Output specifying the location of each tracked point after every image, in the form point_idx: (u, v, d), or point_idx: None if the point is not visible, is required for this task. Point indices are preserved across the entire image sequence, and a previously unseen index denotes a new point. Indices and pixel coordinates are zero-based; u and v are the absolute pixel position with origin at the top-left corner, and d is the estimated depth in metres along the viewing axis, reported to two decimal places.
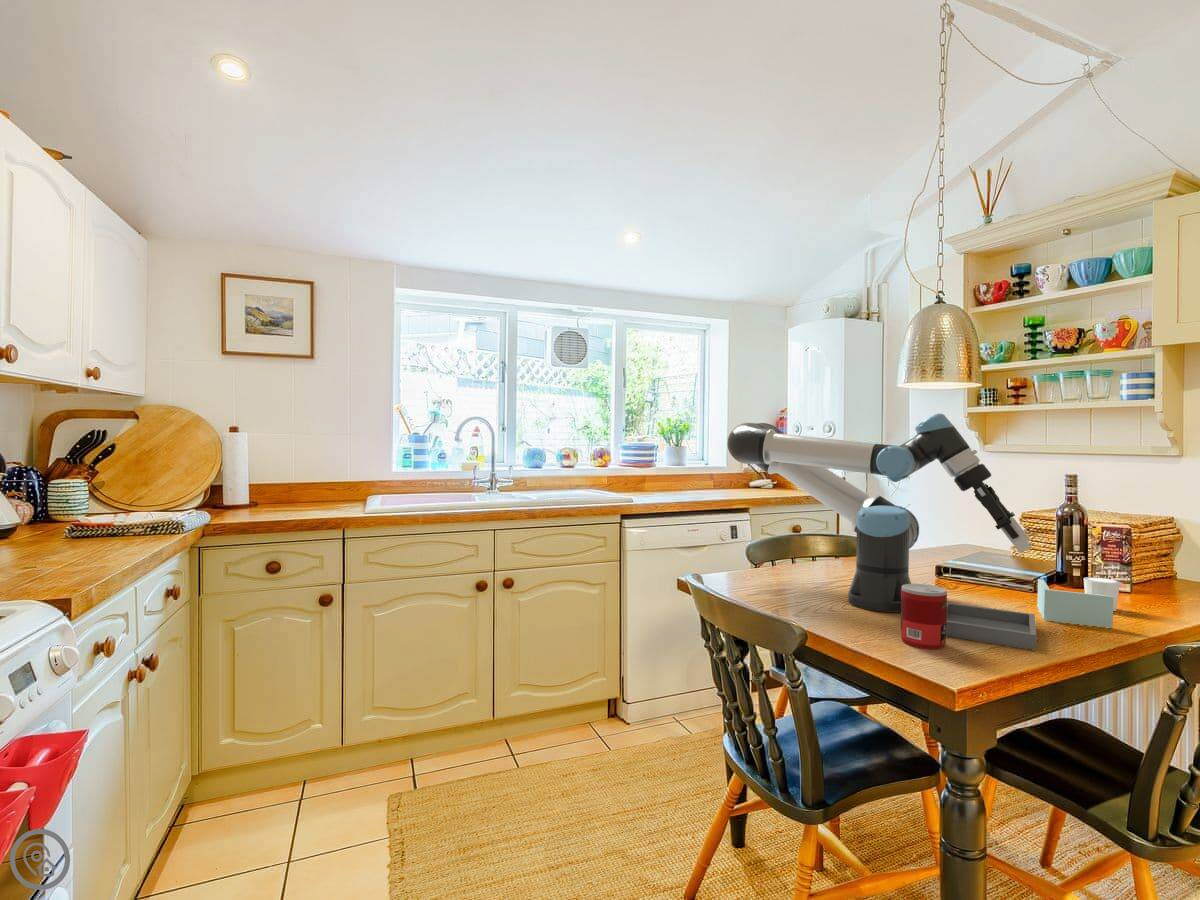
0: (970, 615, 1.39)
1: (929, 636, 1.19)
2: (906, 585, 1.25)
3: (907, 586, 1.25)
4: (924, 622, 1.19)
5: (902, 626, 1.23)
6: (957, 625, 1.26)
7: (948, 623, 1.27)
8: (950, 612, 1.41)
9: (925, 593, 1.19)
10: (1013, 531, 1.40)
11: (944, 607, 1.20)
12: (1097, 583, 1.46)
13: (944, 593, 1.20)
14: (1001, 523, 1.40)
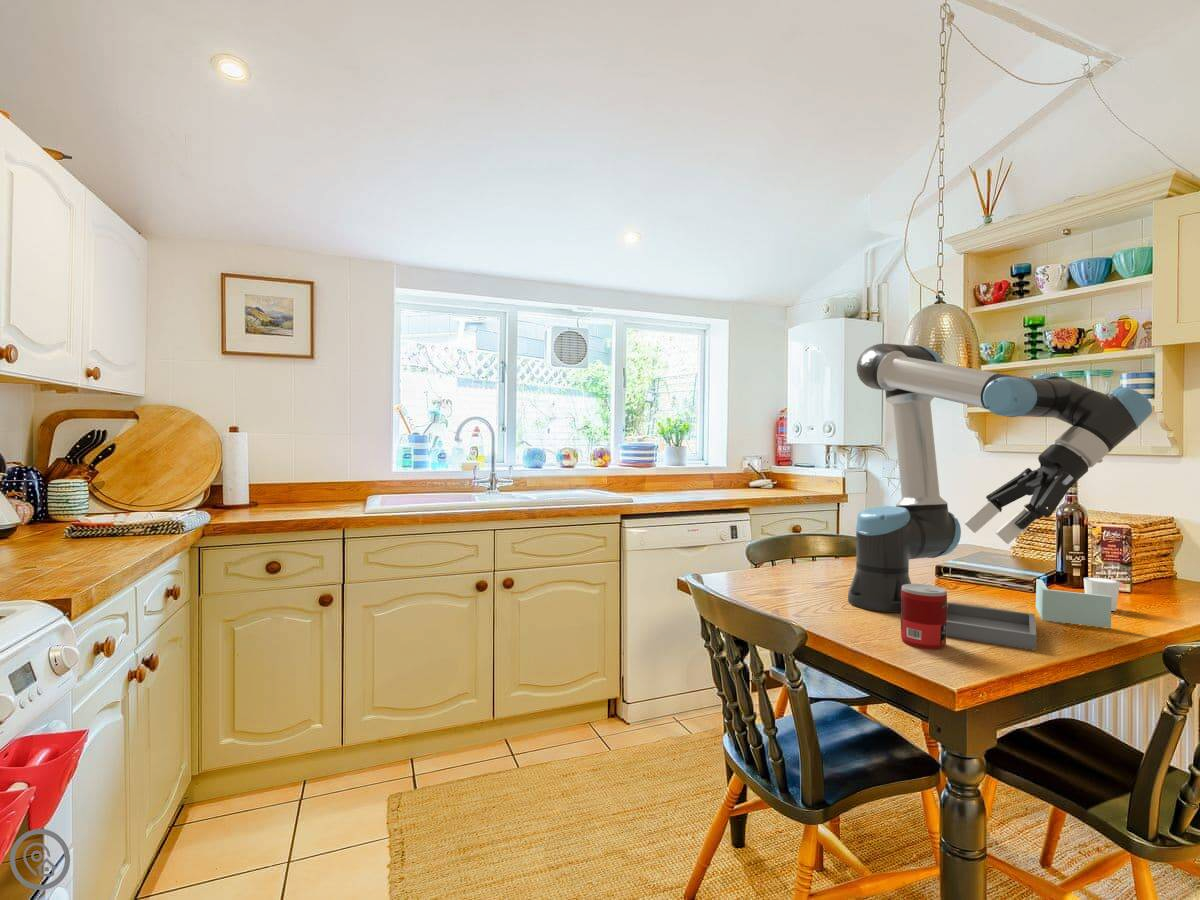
0: (970, 615, 1.39)
1: (929, 636, 1.19)
2: (906, 585, 1.25)
3: (907, 586, 1.25)
4: (924, 622, 1.19)
5: (902, 626, 1.23)
6: (957, 625, 1.26)
7: (948, 623, 1.27)
8: (950, 612, 1.41)
9: (925, 593, 1.19)
10: (1028, 523, 1.12)
11: (944, 607, 1.20)
12: (1097, 583, 1.46)
13: (944, 593, 1.20)
14: (1042, 510, 1.10)
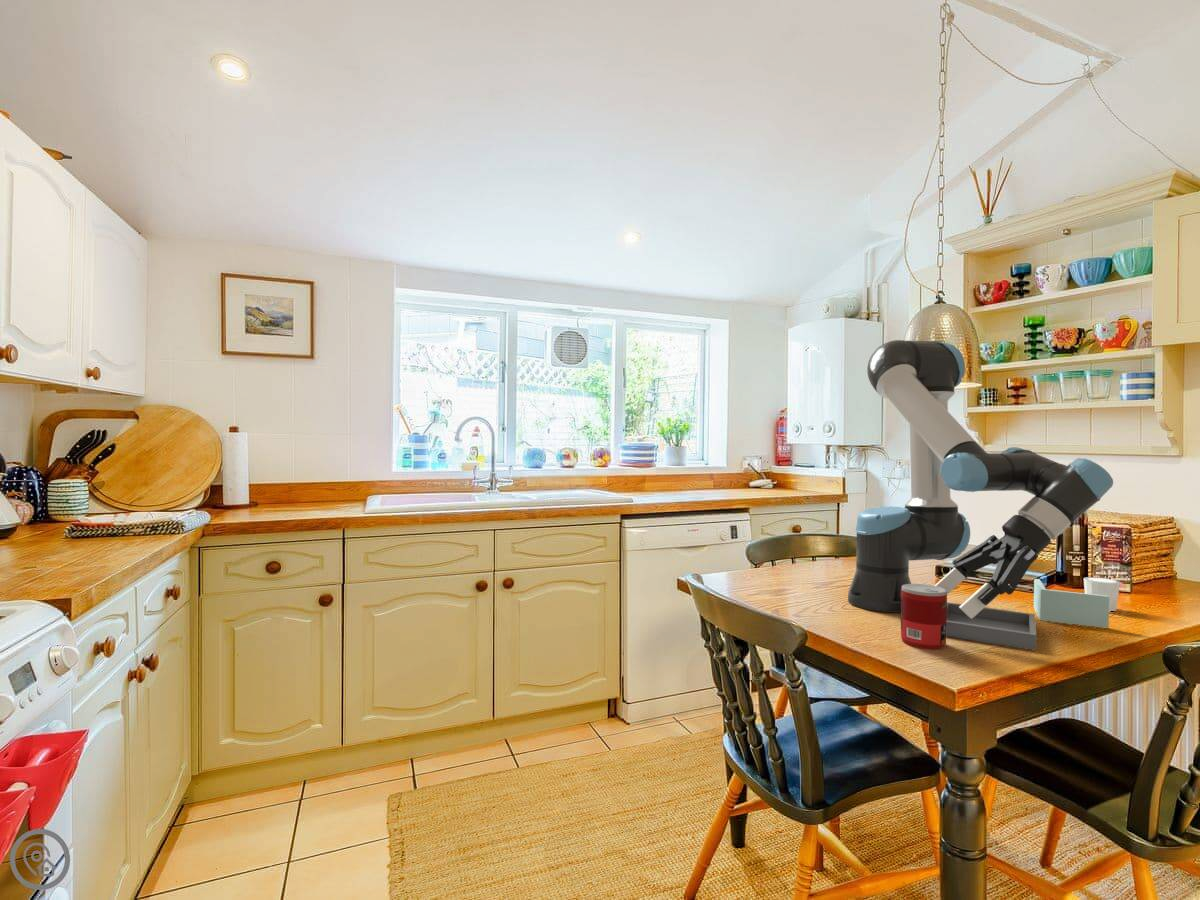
0: None
1: (929, 636, 1.19)
2: (906, 585, 1.25)
3: (907, 586, 1.25)
4: (924, 622, 1.19)
5: (902, 626, 1.23)
6: (957, 625, 1.26)
7: (948, 623, 1.27)
8: (950, 612, 1.41)
9: (925, 593, 1.19)
10: (991, 598, 1.12)
11: (944, 607, 1.20)
12: (1097, 583, 1.46)
13: (944, 593, 1.20)
14: (1003, 587, 1.10)
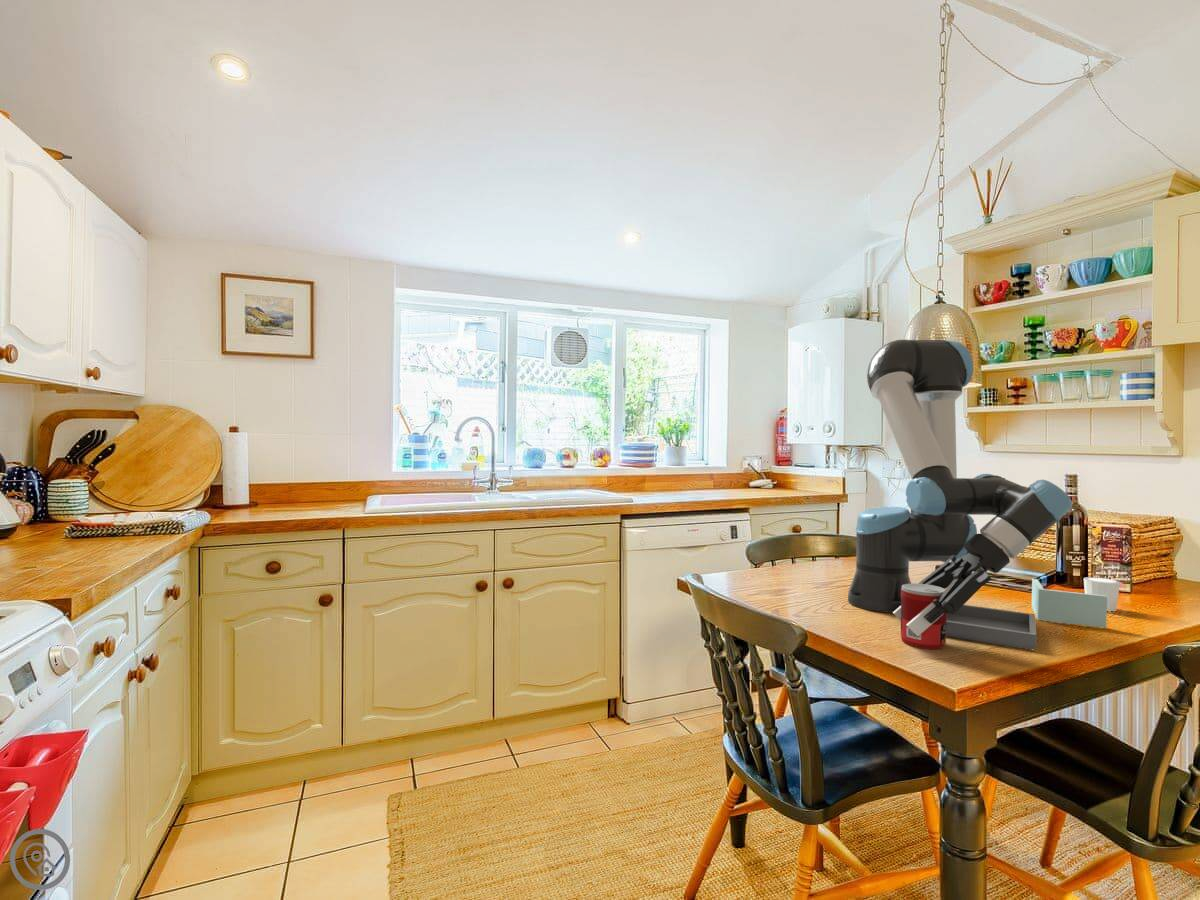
0: (970, 615, 1.39)
1: (929, 636, 1.19)
2: (906, 585, 1.25)
3: (907, 586, 1.25)
4: None
5: (902, 626, 1.23)
6: (957, 625, 1.26)
7: (948, 623, 1.27)
8: None
9: (925, 593, 1.19)
10: (936, 617, 1.17)
11: None
12: (1097, 583, 1.46)
13: None
14: (947, 607, 1.15)
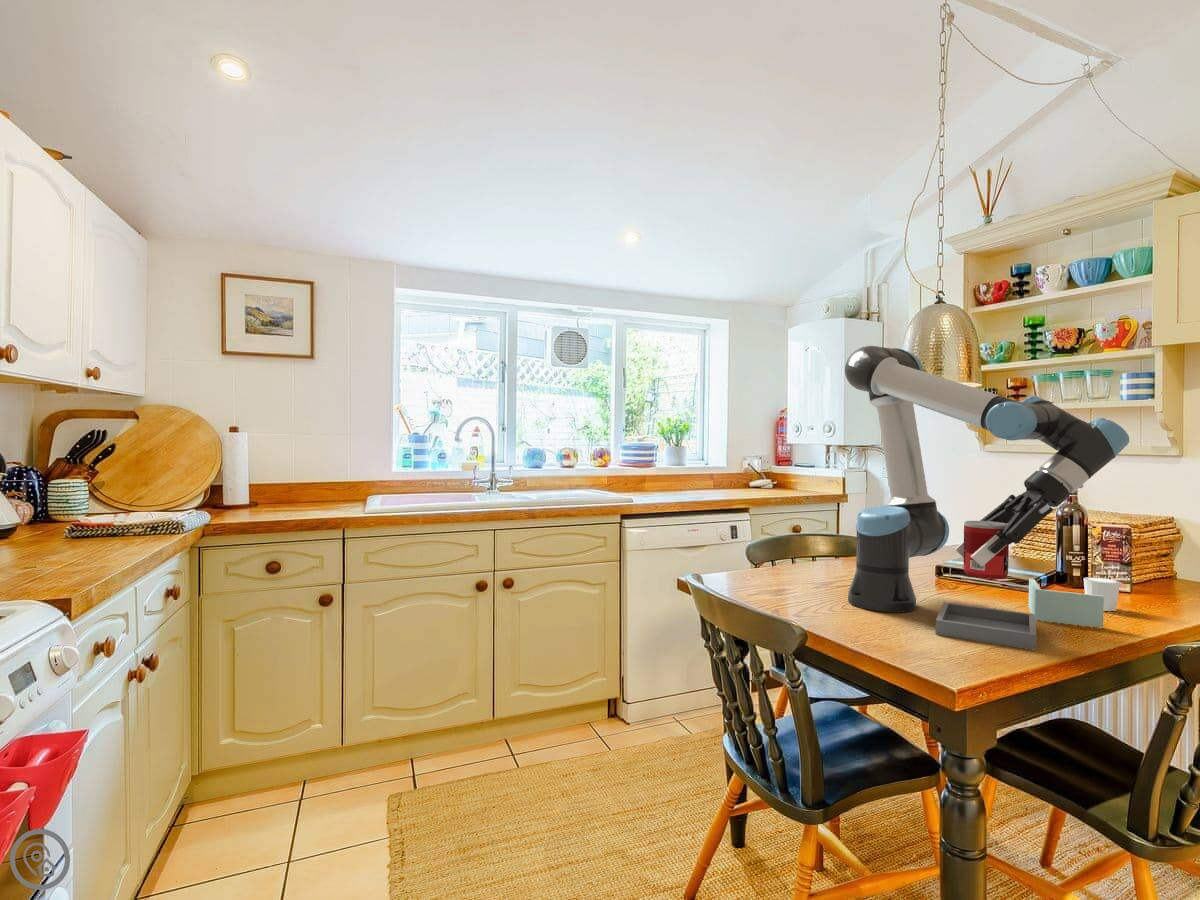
0: (970, 615, 1.39)
1: (992, 567, 1.26)
2: (968, 521, 1.32)
3: (969, 522, 1.32)
4: None
5: (965, 559, 1.30)
6: (957, 625, 1.26)
7: (948, 623, 1.27)
8: (950, 612, 1.41)
9: (988, 526, 1.26)
10: (999, 548, 1.24)
11: None
12: (1097, 583, 1.46)
13: None
14: (1011, 537, 1.22)
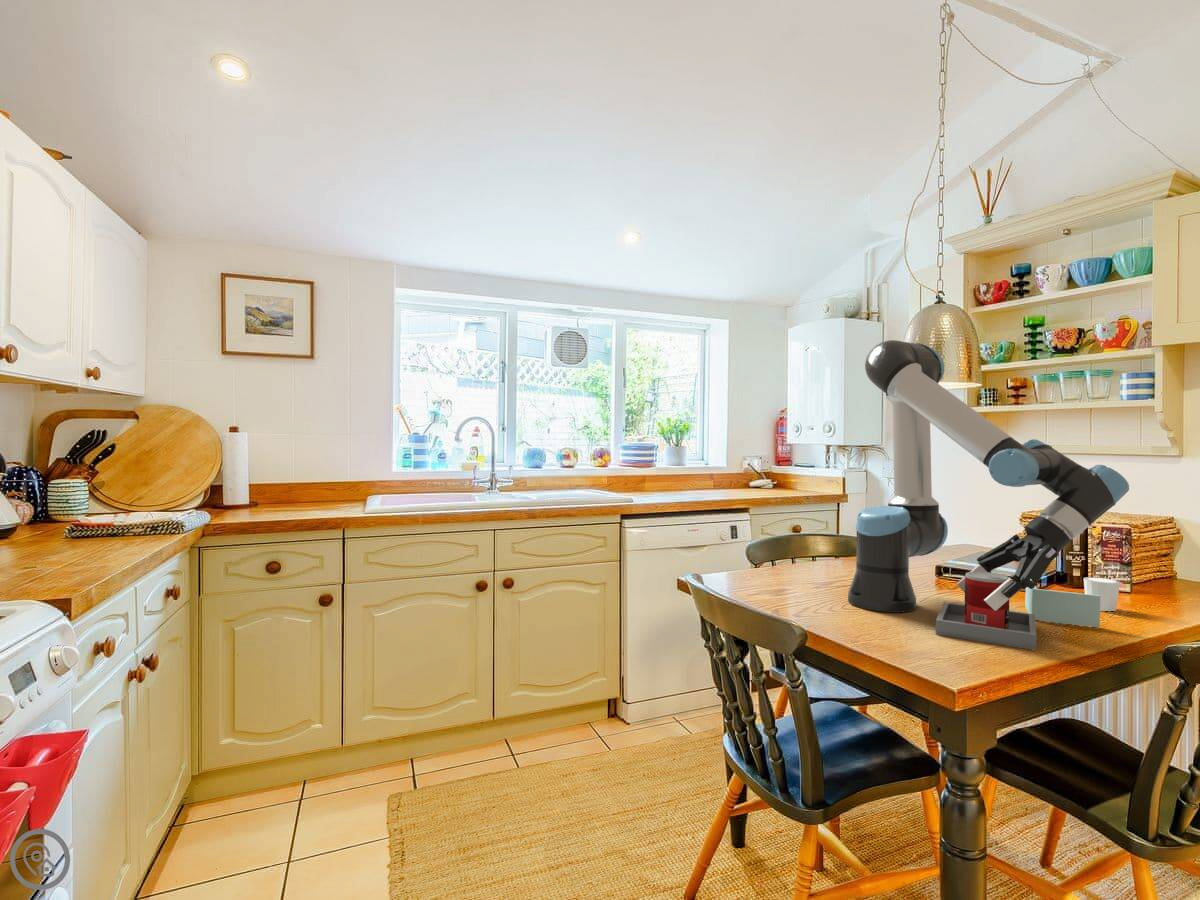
0: None
1: (994, 620, 1.27)
2: (969, 573, 1.33)
3: (970, 574, 1.33)
4: (989, 607, 1.27)
5: (966, 611, 1.31)
6: (957, 625, 1.26)
7: (948, 623, 1.27)
8: (950, 612, 1.41)
9: (990, 580, 1.27)
10: (1014, 592, 1.22)
11: None
12: (1097, 583, 1.46)
13: None
14: (1026, 582, 1.20)
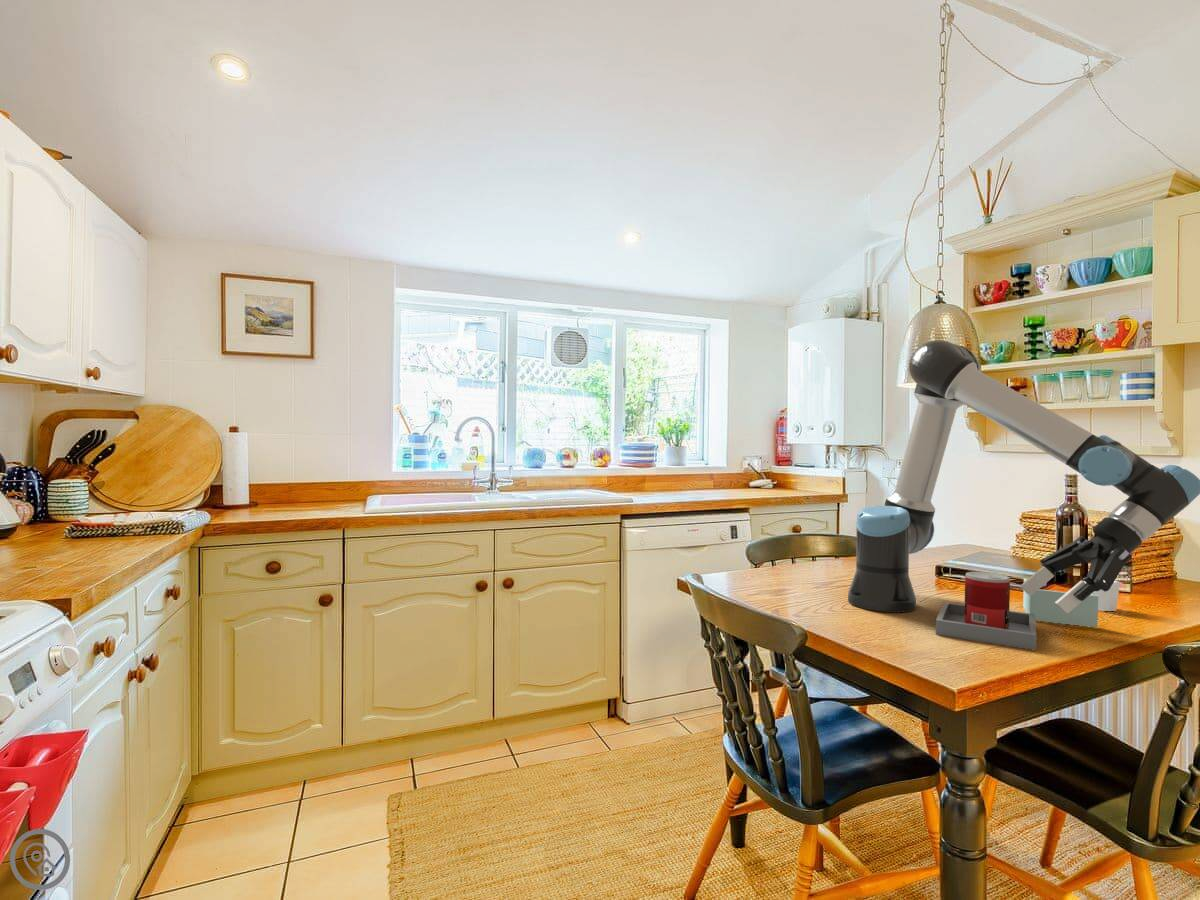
0: None
1: (994, 620, 1.27)
2: (969, 573, 1.33)
3: (970, 574, 1.33)
4: (989, 607, 1.27)
5: (966, 611, 1.31)
6: (957, 625, 1.26)
7: (948, 623, 1.27)
8: (950, 612, 1.41)
9: (990, 580, 1.27)
10: (1087, 595, 1.20)
11: (1008, 593, 1.27)
12: None
13: (1008, 580, 1.27)
14: (1100, 584, 1.18)
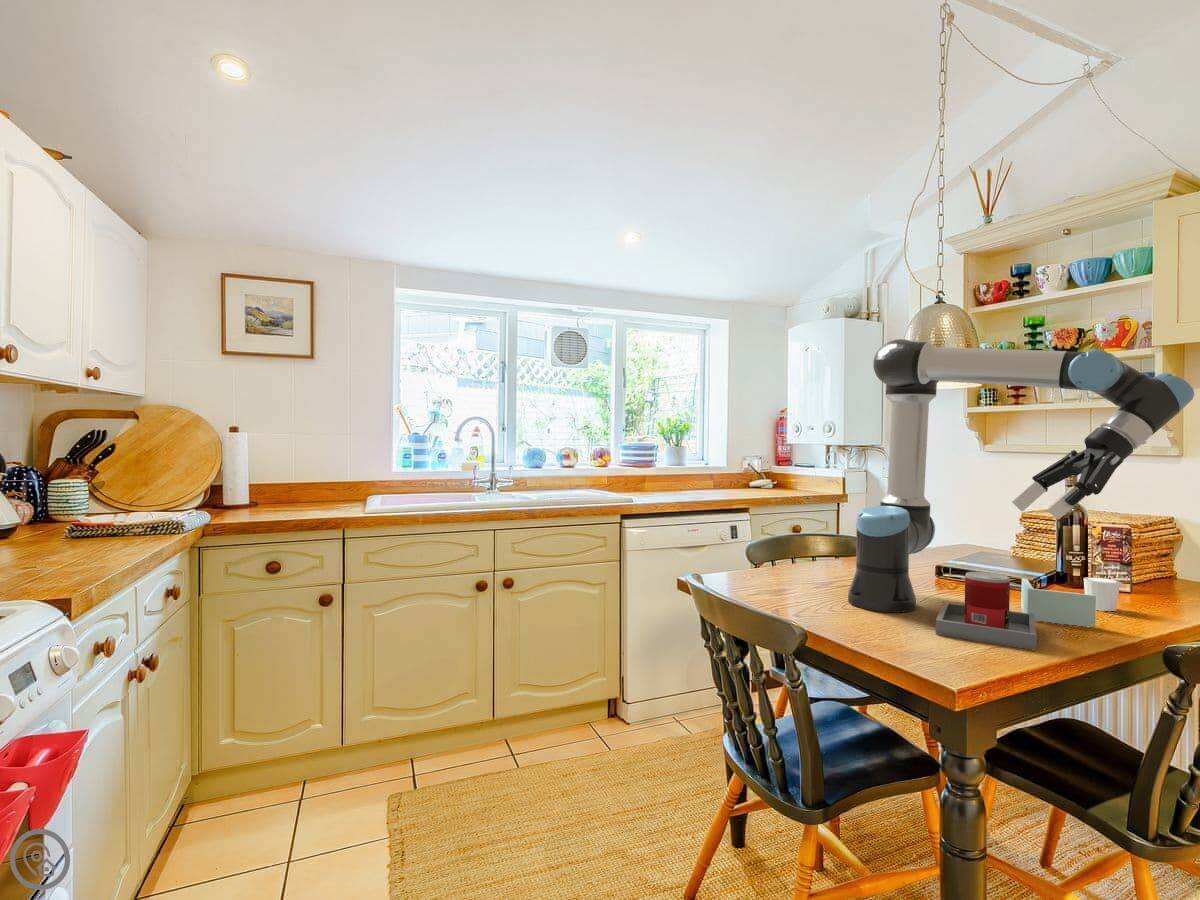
0: None
1: (994, 620, 1.27)
2: (969, 573, 1.33)
3: (970, 574, 1.33)
4: (989, 607, 1.27)
5: (966, 611, 1.31)
6: (957, 625, 1.26)
7: (948, 623, 1.27)
8: (950, 612, 1.41)
9: (990, 580, 1.27)
10: (1078, 499, 1.20)
11: (1008, 593, 1.27)
12: (1097, 583, 1.46)
13: (1008, 580, 1.27)
14: (1091, 487, 1.18)
